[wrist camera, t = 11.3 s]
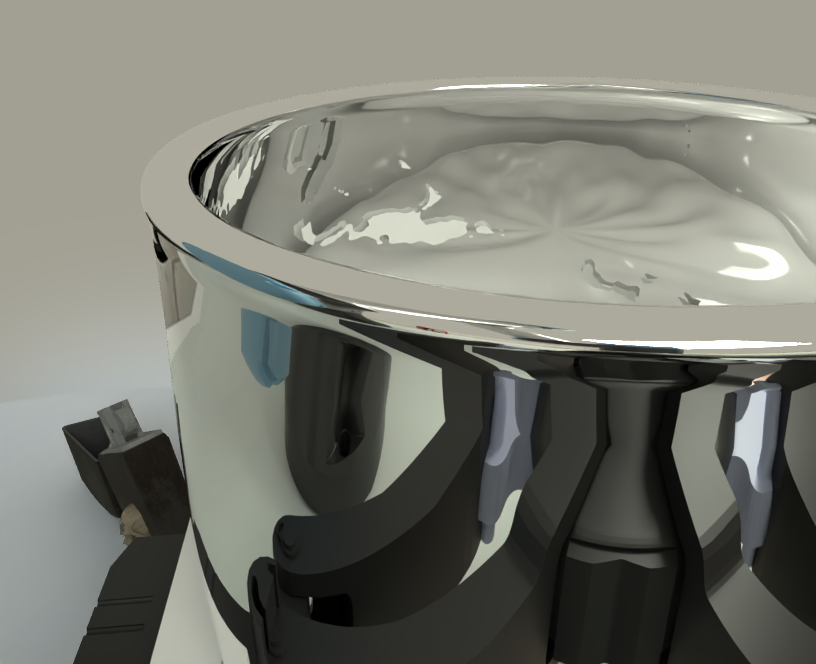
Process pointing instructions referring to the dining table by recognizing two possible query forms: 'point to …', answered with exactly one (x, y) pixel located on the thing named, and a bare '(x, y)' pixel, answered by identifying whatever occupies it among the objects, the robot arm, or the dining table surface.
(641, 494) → the beer glass
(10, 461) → the dining table surface
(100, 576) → the dining table surface
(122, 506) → the lighter
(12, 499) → the dining table surface
